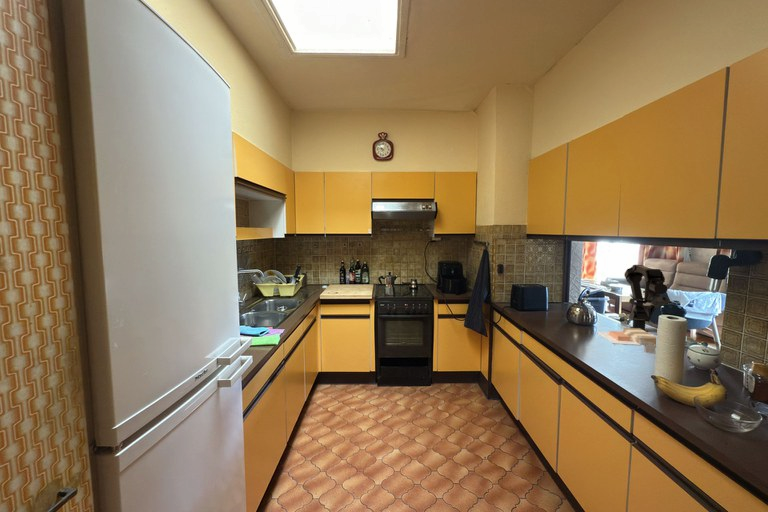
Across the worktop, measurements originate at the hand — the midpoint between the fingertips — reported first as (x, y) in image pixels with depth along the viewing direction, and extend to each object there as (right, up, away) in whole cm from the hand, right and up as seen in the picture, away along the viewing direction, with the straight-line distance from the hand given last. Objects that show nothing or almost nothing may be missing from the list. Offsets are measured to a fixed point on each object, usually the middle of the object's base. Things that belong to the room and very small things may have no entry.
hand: (649, 316), depth 172 cm
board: (-8, -13, -3) cm, 15 cm away
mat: (-19, -12, -1) cm, 23 cm away
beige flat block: (-19, -14, -19) cm, 31 cm away
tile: (-19, -10, -2) cm, 21 cm away
